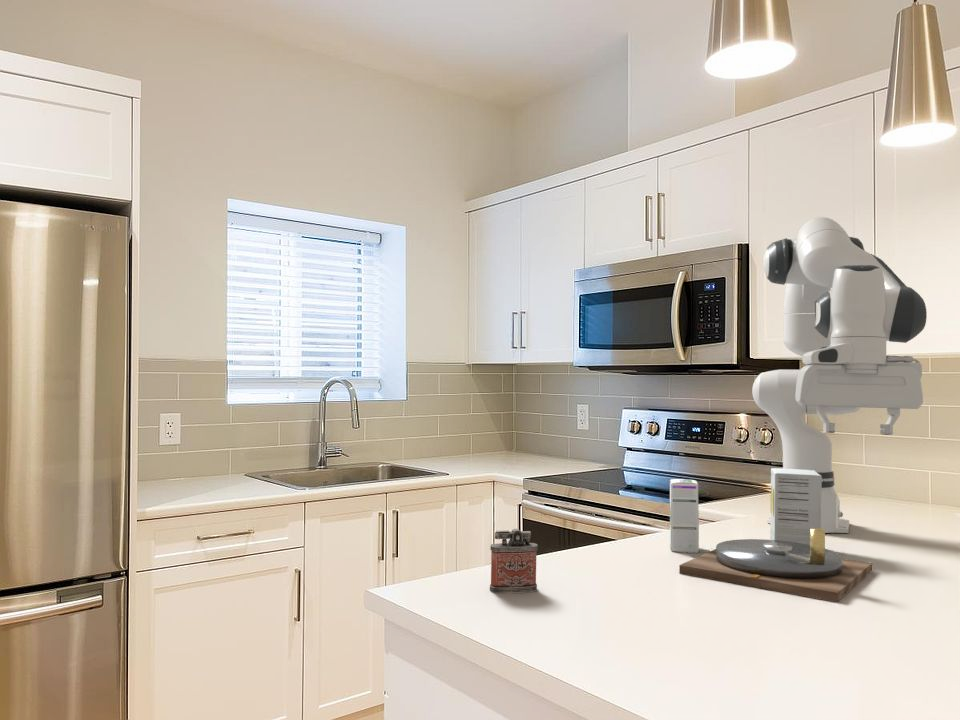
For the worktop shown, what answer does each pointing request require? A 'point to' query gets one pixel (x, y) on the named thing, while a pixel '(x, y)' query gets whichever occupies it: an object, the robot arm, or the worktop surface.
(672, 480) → the syrup box
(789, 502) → the supplement box
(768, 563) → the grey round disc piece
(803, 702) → the worktop surface
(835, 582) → the stand plate
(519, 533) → the lighter
